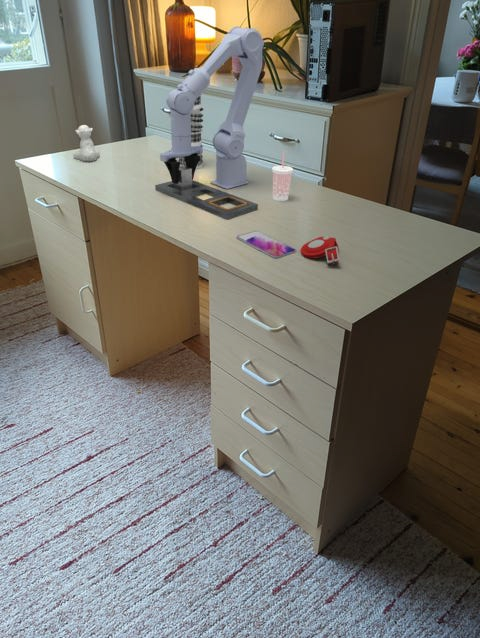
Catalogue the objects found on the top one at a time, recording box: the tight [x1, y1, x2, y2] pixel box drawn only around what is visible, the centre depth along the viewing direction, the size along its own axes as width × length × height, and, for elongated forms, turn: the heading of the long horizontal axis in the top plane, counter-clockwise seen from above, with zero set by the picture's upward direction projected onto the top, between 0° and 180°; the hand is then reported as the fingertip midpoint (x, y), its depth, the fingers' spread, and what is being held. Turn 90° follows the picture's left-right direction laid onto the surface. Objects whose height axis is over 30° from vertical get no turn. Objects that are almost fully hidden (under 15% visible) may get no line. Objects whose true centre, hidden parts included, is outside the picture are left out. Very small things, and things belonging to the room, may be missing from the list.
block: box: [174, 166, 192, 191], centre depth 157 cm, size 4×4×7 cm
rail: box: [154, 179, 259, 220], centre depth 153 cm, size 12×32×2 cm, turn 45°
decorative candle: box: [177, 94, 204, 170], centre depth 175 cm, size 9×9×25 cm
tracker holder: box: [300, 236, 341, 265], centre depth 122 cm, size 12×4×10 cm
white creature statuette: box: [72, 124, 101, 163], centre depth 182 cm, size 10×9×12 cm
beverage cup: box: [271, 150, 294, 202], centre depth 152 cm, size 6×6×14 cm
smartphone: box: [236, 230, 297, 260], centre depth 127 cm, size 7×1×15 cm
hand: (182, 181), depth 157 cm, fingers open, 5 cm apart
